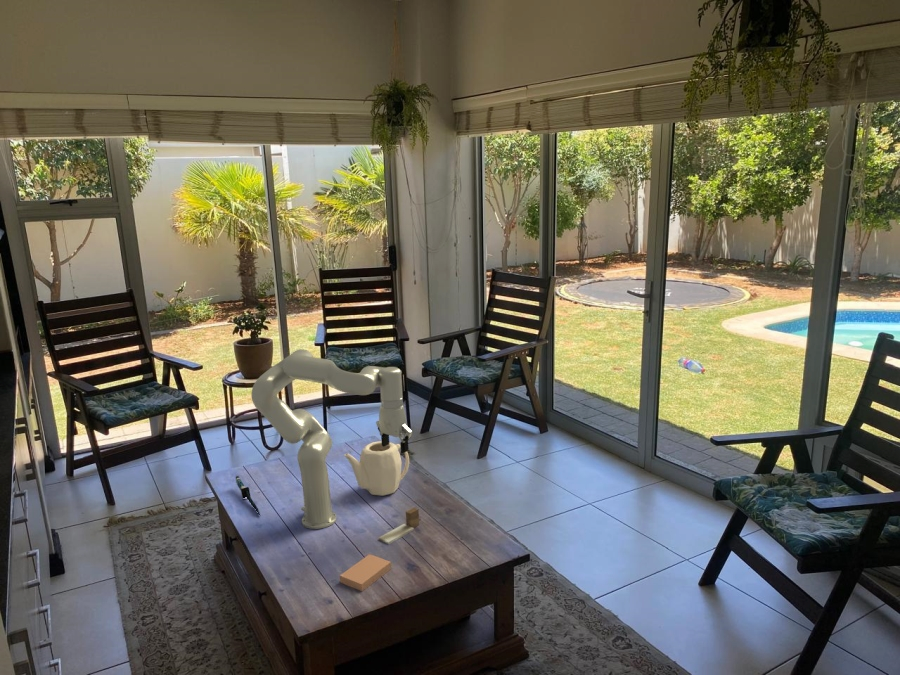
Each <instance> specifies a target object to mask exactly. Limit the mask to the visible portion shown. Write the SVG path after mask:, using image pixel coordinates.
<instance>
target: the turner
mask: <svg viewBox="0 0 900 675" xmlns="http://www.w3.org/2000/svg"><path fill="white" fill-rule="evenodd" d="M419 515H420V513H419V509H418V508H416V507H411V508H410V509H408V510H406V511H405V523H403V524H401V525H399V526H397V527H395V528H394V529H391V530H390V531H388V532H386V533H385V534H382V535H381V536H379V537H378V540H379V541H381V542H382V543H385V544H387V545H390V544H392V543H393V542H395V541H397V540H399V539H401V538H403V537H405V536H406V535H408V534H409V533H411V532H413V531H415V528H416V527H417V526H419V525H420V516H419Z"/></svg>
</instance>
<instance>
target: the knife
mask: <svg viewBox="0 0 900 675" xmlns="http://www.w3.org/2000/svg"><path fill="white" fill-rule="evenodd" d="M235 481H236V485H237V486H238V487H237V488H239V490H240V493H241V499H242V498H245V497H247V499H246V500H249V501H248V502H249V504H250V503H251V504H250V505H251V507H252V506H253V507H254V508H255V509H256V511H257V512H258V513H257V512H256V511H255V512H256V513H257V515H258V514H259V515H260V516H259V515H258V516H259V517H261V513H260V510H259V508H258V506H257V505H256V503H255V501H254V500H253V498H252V497H251V492H250V487H249V486H245V485H244V482H243V481H242V479H241V478H240V476H239V475H236V476H235ZM253 507H252V508H253ZM254 508H253V509H254Z"/></svg>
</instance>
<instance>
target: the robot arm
mask: <svg viewBox="0 0 900 675" xmlns="http://www.w3.org/2000/svg"><path fill="white" fill-rule="evenodd" d="M295 380H299V381H305V382H306V381H307V382H311V383H317V384H323V385H327V386H329V387H330V388H332V389H335V390H337V391H339V392H342V393H346V394H350V395H351V394H352V395H358V396H367V395H370V394H372V393H374V391H375V390H376V388H378V387H379V388H380V391H379V392H380V405H379V411H378V412H379V413H378V420H377V421H376V422H375V425H376V427H377V430H378V432H379V435H380V436H381V440H380V441H382V446H383V447H384V446H386V445H389V444H390V443H389V442H390V436H391V437H394V438H399V440H400V441H401V442H399V443H400V446H401V448H400V453H401V454H405V452H408V451H409V448H410V447H409V441H410V440H411V438H412V436H413V435H412V434H413V431H412V430H411V428H410V427H408V423H407V417H406V410H405V407H404V399H403V397H404V396H403V380H402V371H401V369H400V368H398V367H397V366H387V367H382V366H377V365H376V366H375V365H367V366H365V367H363V368H362V369H361V370H360V372H359V373H357V372H352V371H347V370H343V369H341V368H339V367H338V366H337V365H336V364H335V361H333V360H331V359H326V358H320V357H314V355H313V354H312V353H311V351H309V350H306V349H303V348H302V349H296V350H294V351H293V352H291V353H290V354H289V355H288V356H286V357H284V359H282V360H281V361H279V362H278V363H275V364H274V365H273V366H271V367H270V368H268V370H266V371H265V372H264V373H263V374H261V375H259V377H258V378H257V379H256V381H255V382H254V384H253V385H252V388H251V401H252V404H253V406H254V407H255V408H256V409H257V410H258V411H259V412H260V414H262V416H263V417H264V418H265V419H266V420H267V421H268V423H270V425H271V426H272V428H274V429H275V430H276V432H277V433H278V434H279V435H280V436H281V438H282V439H283V440H284V441H286V442H287V443H289V444H292V445H293V444H298V443H300V442H301V441H302V444H301V445H300V447H299V449H298V452H297V463H298V467H299V471H300V477H301V486H302V495H303V504H304V505H303V506H301V508H300V510H301V511H302V512H303V513H304V516H303V517H302V519H301V525H302V526H303V527H305V528H306V529H311V530H319V529H324V528H328V527H330V526H331V525H333V524H334V523H336V521H337V518H338V517H337V514H336V512H334V511H332V510H333V509H332V501H331V500H332V499H331V489H330V480H329V479H330V478H329V472H328V471H329V470H328V467H327V464H326V457H327V456H328V454H329V453H330V451H331V449H332V447H333V441H332V437H331V435H330V434H329V432H327V430H326V429H325V428H324V427H323V426H322V424H321V423H320V422H319V421H318V420H317V419H316V418H315V416H314V415H313V414H312V413H310V412H309V411H307V410H306V409H303V408H297V409H293V410H292V409H291V408H290V407H289V405H288V404H287V403H286V402H285V401H284V400H282V399H280V398H279V397H278V394H279V393H280V392H282V390H283V389H284V388H286V387H287V386H288V385H289V384H291V383H292V382H293V381H295ZM403 436H404V437H403Z"/></svg>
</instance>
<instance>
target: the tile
mask: <svg viewBox="0 0 900 675" xmlns="http://www.w3.org/2000/svg"><path fill="white" fill-rule="evenodd" d="M390 570H392V562H391V561H390V560H386V559H384V558H381V557H379V556H376V555H373V554H368V555H367V556H365V557H363V558H362V559H360V561H358V562H357V563H355V564H354V565H352V566H350V567H349V568H348V569H347V570H346V571H344V572H343V573H340V575H339V580H340V582H339V583H341V584H344V585H345V586H348V587H350V588H353V589H355V590H358V591H360V592H363V591H365V590H366V589H367V588H368V587H370V586H371V585H372V584H374V583H375V582H377V580H379V579H380V578H381V577H383V576H384V575H386V574H387V573H388V572H389V571H390Z"/></svg>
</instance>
